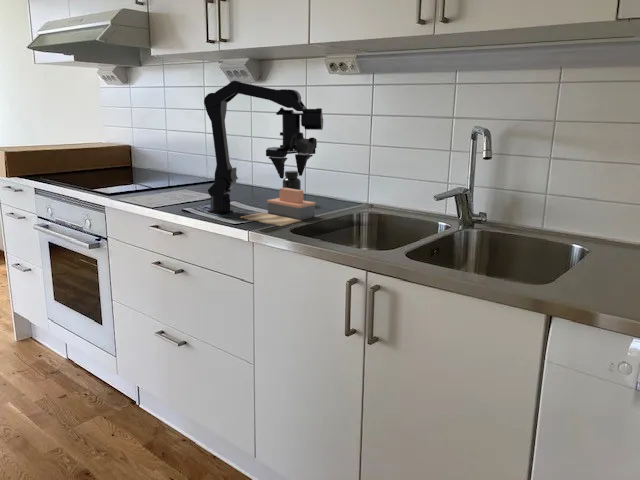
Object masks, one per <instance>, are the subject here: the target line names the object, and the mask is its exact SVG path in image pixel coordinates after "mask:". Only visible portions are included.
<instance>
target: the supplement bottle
mask: <svg viewBox="0 0 640 480" xmlns="http://www.w3.org/2000/svg"><path fill="white" fill-rule="evenodd" d="M284 177H285V178H283V180H282V188H291V189H297V190H302V189H301V188H302V187H301V185H302V184H301V180H300V178H299V174H298V170H286V171H285V170H284Z"/></svg>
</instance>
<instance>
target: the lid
mask: <svg viewBox="0 0 640 480" xmlns="http://www.w3.org/2000/svg"><path fill="white" fill-rule="evenodd" d="M266 202H267V204H268V203H273V204H279V205H284V206H290V207H295V208H303V207H308V206H312V205H315V206H316V204H317V202H315V201H310V200H304V189H301V190H297V189H291V188H283V187H281V188H279V197H277V198H272V199H267V200H266Z"/></svg>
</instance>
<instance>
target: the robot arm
mask: <svg viewBox="0 0 640 480" xmlns="http://www.w3.org/2000/svg"><path fill="white" fill-rule="evenodd" d="M238 95H244V96H250V97H254V98H258V99H262V100H267V101H270V102H272V103H275V104H277V105H278V106H279V105H280V106H282V107H279V110H278V111H277V112H276V113H275V114H276V115H277V116H281V117H282V119H281V121H282V123H281V124H282V127H281V128H282V132H279V136H282V144H280V145H279V146H277V147H276V146H272V147H267V148H266V149H265V157H268V159H269V160H270V161H271V163H272V164H273V166H274V167H275V170H276V171H277V174H278V177H279V178H280V179H283V180H284V179H285V178H284V177H285V162H286V161H287V160H288V157H287V155H292V154H294V157H295V163H296V169H297V171H298V177H299V176H300V177H301V176H303V173H304V172H305V171H304V170H305V167H306V164H307V162H308V160H310V158H311V157H313V156H314V155H315V154H316V149H317V143H318V142H317V138H315V137H309V138H305V137H304V133H303V132H301V127H303V128H304V130H309V131H310V130H311V131H313V130H315V131H317V130H318V131H322V130H323V129H324V118H323V108H319V107H318V108H307V107H306V105H305V104H304V103H303V101H302V96H301V94H300V92H299V91H298V90H296V89H287V88H286V89H282V88H281V89H279V88H269V87H265V86H259V85H256V84H251V83H245V82H241V81H240V80H231V81H230V82H229V83H227V84H226V85H224V86H223V87H221V88H220V89H218V90H216V91H215V92H210V93H207V95H206V96H205V97H204V99H203V105H204V108H205V111H206V114H207V116H208V118H209V120H210V123H211V129H212V137H213V145H214V146H213V147H214V153H215V160H216V161H215V162H216V166H215V171H214V183H213V184H212V185H211V186H210V187H209V188H208V189H207V192H208V194H209V197H210V209H207V212H208V213H212V214H213V213H214V214H217V215H221V214H222V215H223V214H227V213H232V212H234V209H231V199H230V197H231V195H230V194H229V193H231V190H232V189H233V188H234V187H235V186H236V184H237V180H238V179H239V177H238V175H237V167H233V166H232V164H231V162H230V161H231V160H230V153H229V146H228V138H227V137H228V136H227V129H226V117H227V116H226V115H227V111H228V109H227V108H228V103H229V102H231V101H232V100H234V98H235V97H236V96H238ZM285 108H287V109H285ZM296 112H297V113H296ZM298 112H301V113H298Z"/></svg>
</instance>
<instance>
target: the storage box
mask: <svg viewBox="0 0 640 480" xmlns="http://www.w3.org/2000/svg"><path fill="white" fill-rule="evenodd" d="M315 209H316V205H312V206H308V207H303V208H295V207H290V206H284V205H279V204H273V203H268V202H267V214H272V215H277V216H282V217H287V218H293V219H298V220H300V219H302V220H305V219H304V218H306V219H309V217H310V218H313V217H312V216H316V215H315V213H316V212H315Z"/></svg>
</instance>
